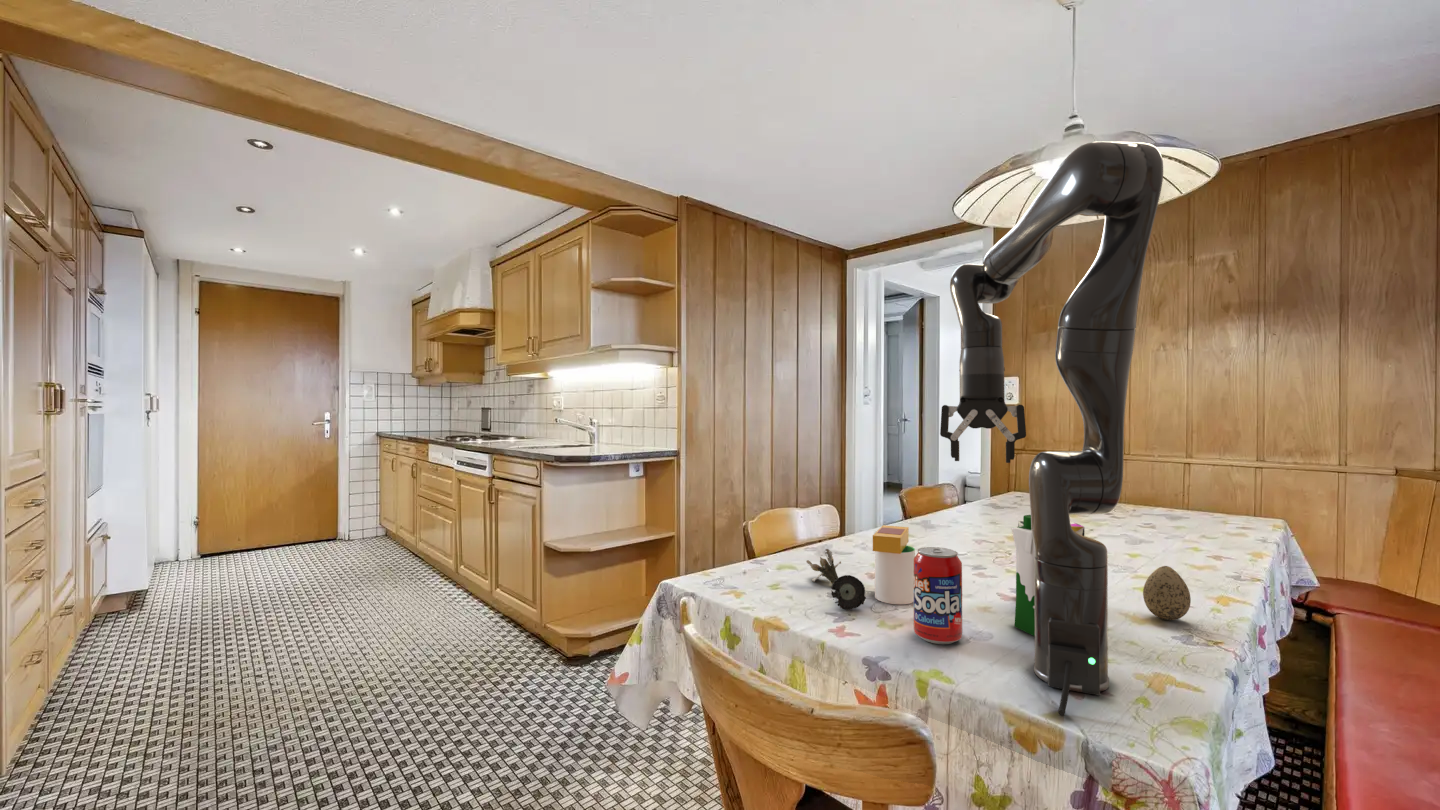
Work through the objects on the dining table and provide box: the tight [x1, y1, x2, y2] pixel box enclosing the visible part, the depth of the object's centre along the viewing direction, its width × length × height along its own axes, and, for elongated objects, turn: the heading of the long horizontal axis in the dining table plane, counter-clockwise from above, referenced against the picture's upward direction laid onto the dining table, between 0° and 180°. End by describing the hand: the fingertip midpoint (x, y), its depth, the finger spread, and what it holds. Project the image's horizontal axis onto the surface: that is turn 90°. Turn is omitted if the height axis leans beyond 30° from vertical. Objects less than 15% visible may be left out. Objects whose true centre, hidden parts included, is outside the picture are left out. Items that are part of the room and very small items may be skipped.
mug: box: [874, 544, 916, 605], centre depth 126 cm, size 12×8×10 cm
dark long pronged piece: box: [805, 548, 867, 611], centre depth 128 cm, size 9×22×10 cm, turn 179°
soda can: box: [913, 546, 963, 645], centre depth 102 cm, size 8×8×15 cm
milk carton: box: [1011, 514, 1035, 637], centre depth 105 cm, size 9×9×20 cm
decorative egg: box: [1142, 565, 1192, 621], centre depth 111 cm, size 7×7×10 cm
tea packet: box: [872, 524, 910, 554], centre depth 125 cm, size 12×6×3 cm, turn 155°
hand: (982, 461), depth 108 cm, fingers open, 8 cm apart
